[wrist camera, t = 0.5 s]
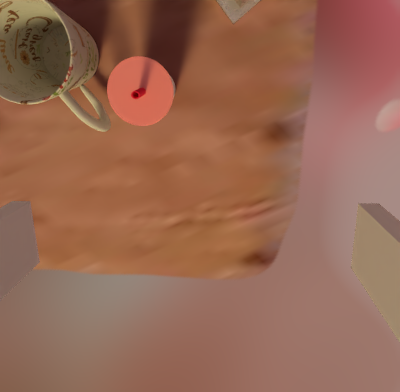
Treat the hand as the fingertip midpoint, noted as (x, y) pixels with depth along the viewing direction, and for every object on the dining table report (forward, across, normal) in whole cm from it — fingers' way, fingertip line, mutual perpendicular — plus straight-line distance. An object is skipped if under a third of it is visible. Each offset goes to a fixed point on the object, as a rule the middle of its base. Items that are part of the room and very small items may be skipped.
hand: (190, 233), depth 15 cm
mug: (+26, -13, +7) cm, 30 cm away
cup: (+26, -6, +5) cm, 27 cm away
